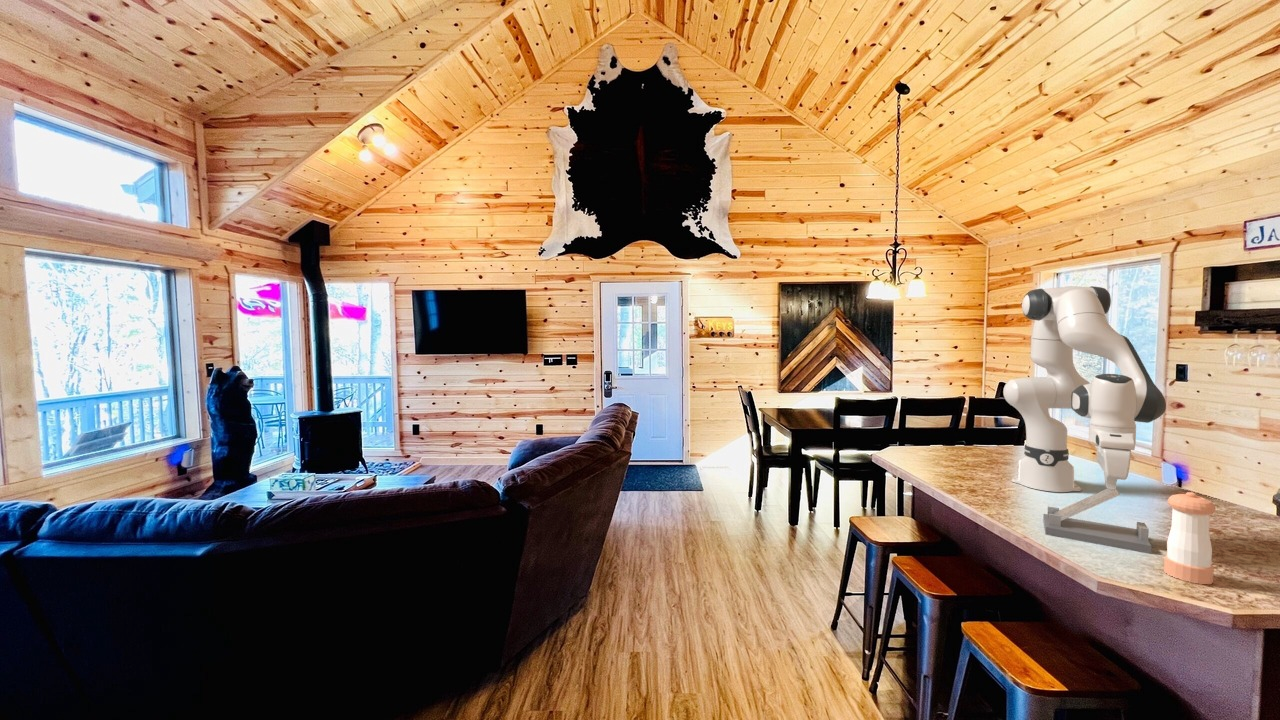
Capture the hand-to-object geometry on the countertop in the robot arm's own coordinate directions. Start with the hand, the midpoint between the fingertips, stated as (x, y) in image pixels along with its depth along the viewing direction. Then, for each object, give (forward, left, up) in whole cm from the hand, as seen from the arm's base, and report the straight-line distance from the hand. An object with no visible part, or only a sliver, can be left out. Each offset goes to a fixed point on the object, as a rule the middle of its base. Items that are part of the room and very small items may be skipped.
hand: (1110, 487), depth 127 cm
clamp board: (0, -3, -14) cm, 14 cm away
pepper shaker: (+17, +11, -14) cm, 24 cm away
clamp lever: (0, -5, -7) cm, 8 cm away
